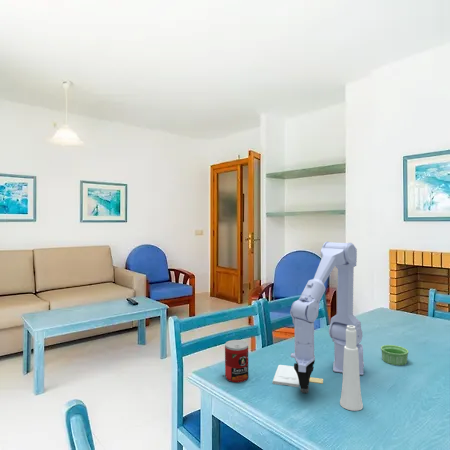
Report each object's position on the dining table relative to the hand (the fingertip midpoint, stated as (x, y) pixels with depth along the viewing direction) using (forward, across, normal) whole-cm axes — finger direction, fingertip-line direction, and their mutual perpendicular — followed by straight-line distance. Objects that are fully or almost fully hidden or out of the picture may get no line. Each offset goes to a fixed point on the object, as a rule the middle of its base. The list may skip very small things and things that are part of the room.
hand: (304, 386), depth 103 cm
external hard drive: (+2, -8, -6) cm, 10 cm away
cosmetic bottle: (+2, +4, +13) cm, 14 cm away
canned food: (+2, -3, -22) cm, 22 cm away
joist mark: (+2, -8, +2) cm, 9 cm away
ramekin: (+2, -32, +29) cm, 43 cm away
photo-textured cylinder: (+2, 0, 0) cm, 2 cm away
